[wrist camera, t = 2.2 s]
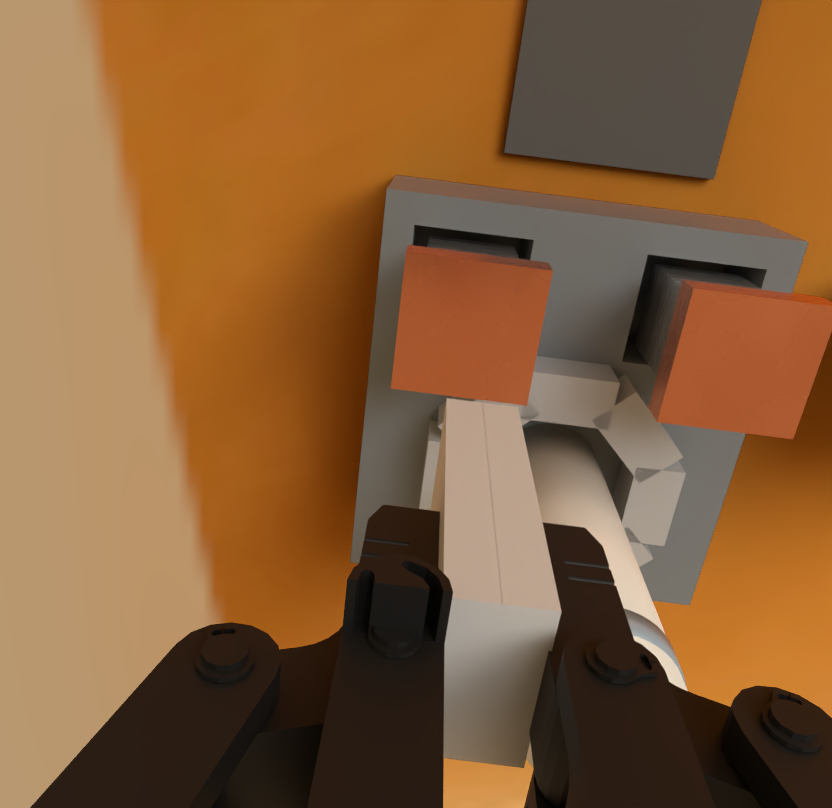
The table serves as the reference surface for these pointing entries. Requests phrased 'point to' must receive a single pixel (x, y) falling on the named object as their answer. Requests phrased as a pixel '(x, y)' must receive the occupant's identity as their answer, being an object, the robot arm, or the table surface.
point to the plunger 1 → (469, 320)
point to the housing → (573, 356)
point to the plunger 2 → (730, 351)
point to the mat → (629, 82)
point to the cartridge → (595, 528)
